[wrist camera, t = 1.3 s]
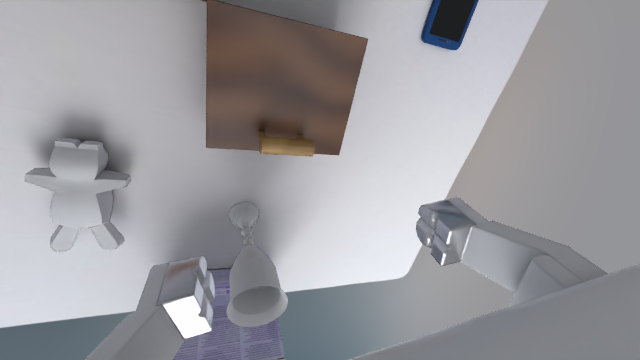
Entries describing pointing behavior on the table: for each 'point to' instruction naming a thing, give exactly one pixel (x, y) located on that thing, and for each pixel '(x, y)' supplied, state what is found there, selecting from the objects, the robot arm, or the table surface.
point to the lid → (277, 82)
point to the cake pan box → (231, 333)
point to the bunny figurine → (80, 192)
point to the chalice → (252, 277)
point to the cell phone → (448, 22)
